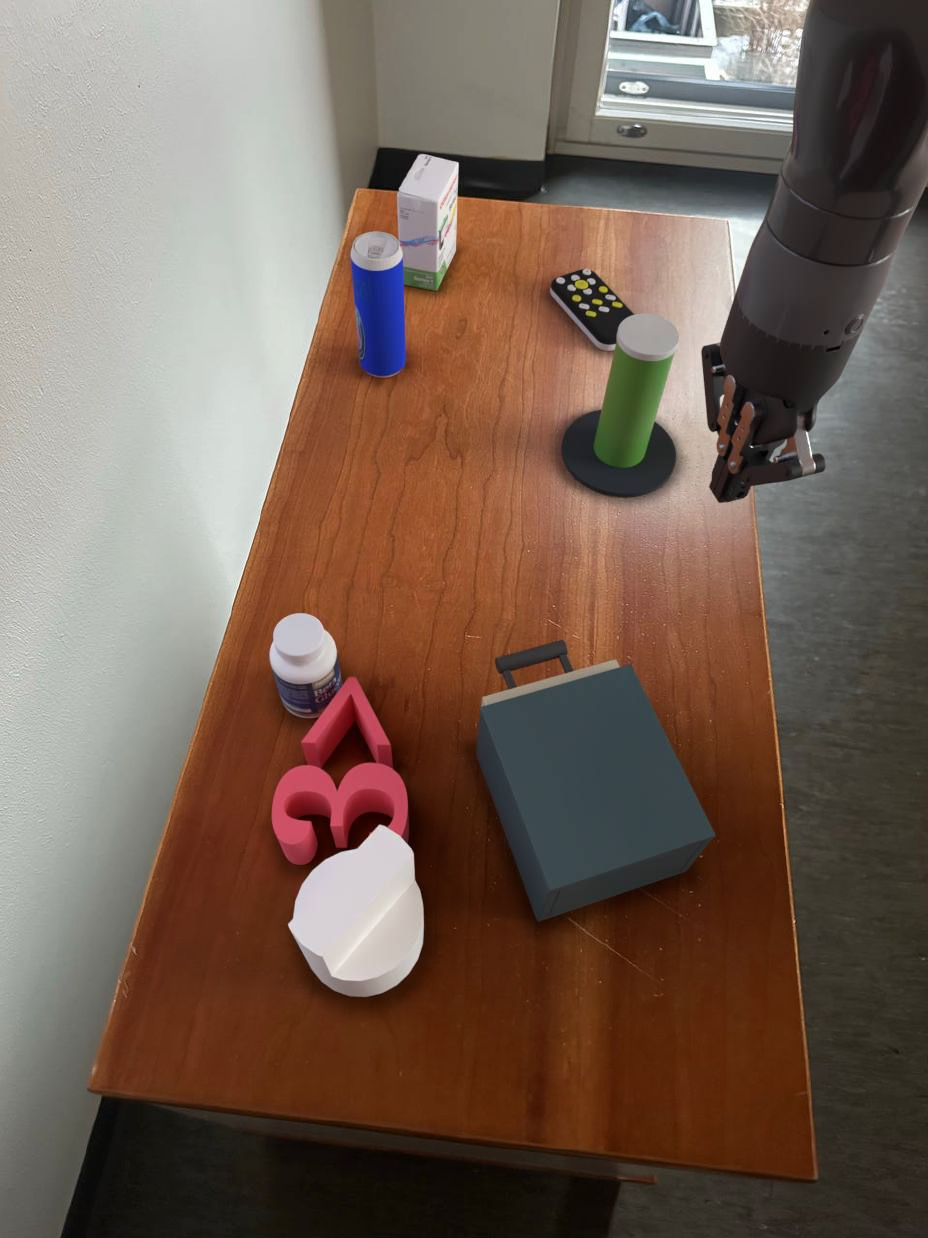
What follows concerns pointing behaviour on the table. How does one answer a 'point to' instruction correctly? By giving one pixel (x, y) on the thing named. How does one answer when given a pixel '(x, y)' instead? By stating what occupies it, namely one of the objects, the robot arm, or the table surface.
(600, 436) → the chip tube
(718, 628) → the table surface
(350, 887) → the cylinder with rectangular tab
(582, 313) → the remote control
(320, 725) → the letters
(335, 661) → the pill bottle
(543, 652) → the drawer
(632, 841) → the cabinet
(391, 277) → the beverage can
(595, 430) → the mat
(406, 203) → the ink box
